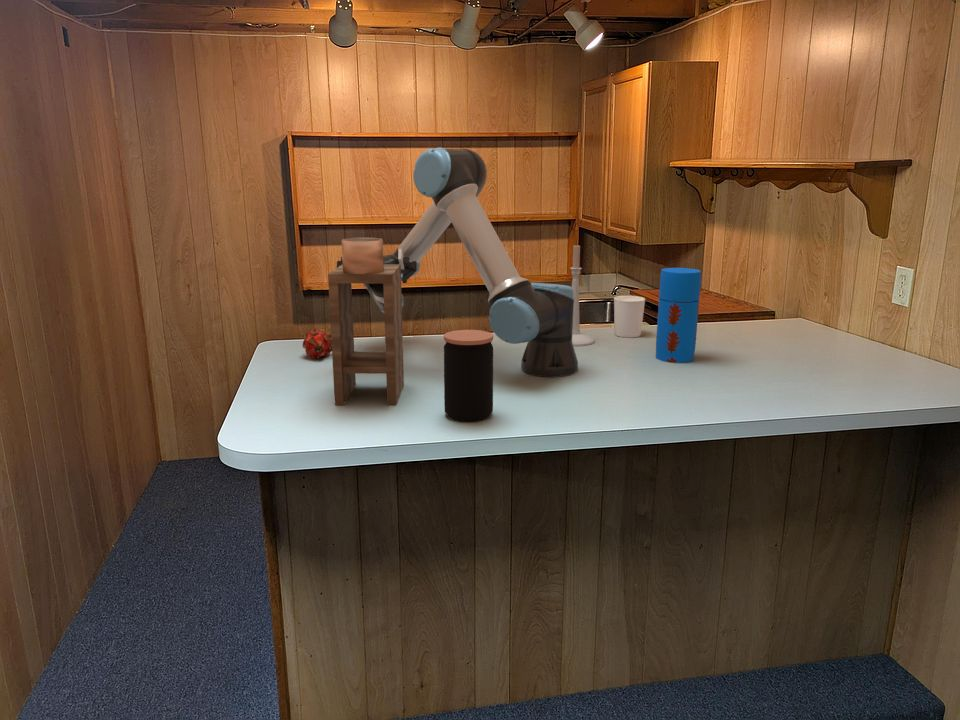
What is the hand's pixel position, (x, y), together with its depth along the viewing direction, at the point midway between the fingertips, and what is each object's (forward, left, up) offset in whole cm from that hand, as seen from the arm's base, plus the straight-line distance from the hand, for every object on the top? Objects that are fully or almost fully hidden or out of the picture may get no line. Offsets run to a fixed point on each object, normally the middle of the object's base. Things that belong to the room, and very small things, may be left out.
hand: (371, 253), depth 175 cm
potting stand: (-7, +9, -32) cm, 34 cm away
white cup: (-30, -85, -32) cm, 96 cm away
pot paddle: (-4, +5, -2) cm, 7 cm away
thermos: (-53, -66, -32) cm, 91 cm away
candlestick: (-20, -67, -32) cm, 77 cm away
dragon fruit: (+30, -8, -32) cm, 45 cm away
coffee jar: (-34, +7, -32) cm, 48 cm away
